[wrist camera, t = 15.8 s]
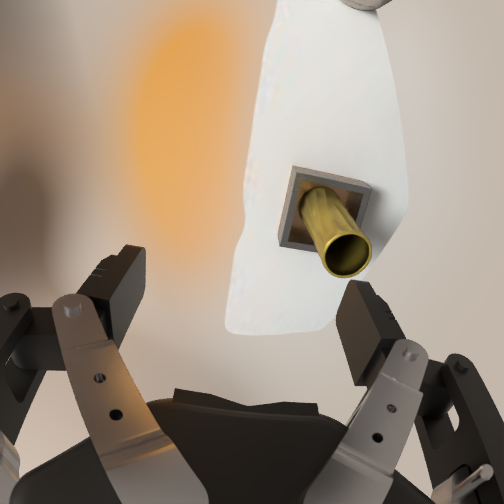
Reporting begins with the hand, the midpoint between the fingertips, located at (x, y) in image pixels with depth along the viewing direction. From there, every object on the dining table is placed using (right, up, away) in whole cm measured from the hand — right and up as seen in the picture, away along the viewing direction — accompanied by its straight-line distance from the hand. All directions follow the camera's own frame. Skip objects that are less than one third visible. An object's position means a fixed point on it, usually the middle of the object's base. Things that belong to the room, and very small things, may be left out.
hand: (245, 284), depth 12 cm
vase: (+10, +7, +31) cm, 34 cm away
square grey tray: (+10, +7, +32) cm, 34 cm away
